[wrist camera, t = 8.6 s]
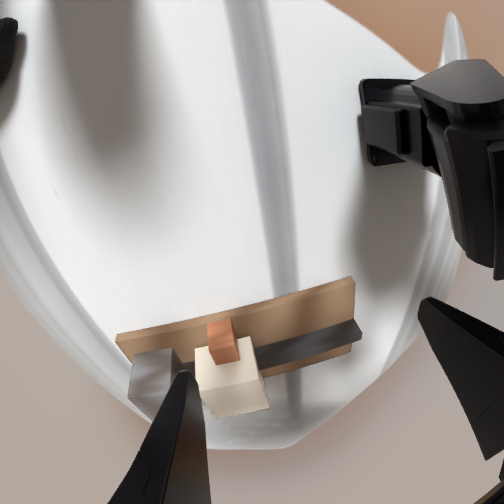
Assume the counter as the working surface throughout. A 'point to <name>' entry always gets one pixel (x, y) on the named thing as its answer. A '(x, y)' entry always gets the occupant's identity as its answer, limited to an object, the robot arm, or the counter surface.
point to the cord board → (239, 326)
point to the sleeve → (231, 382)
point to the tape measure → (6, 44)
